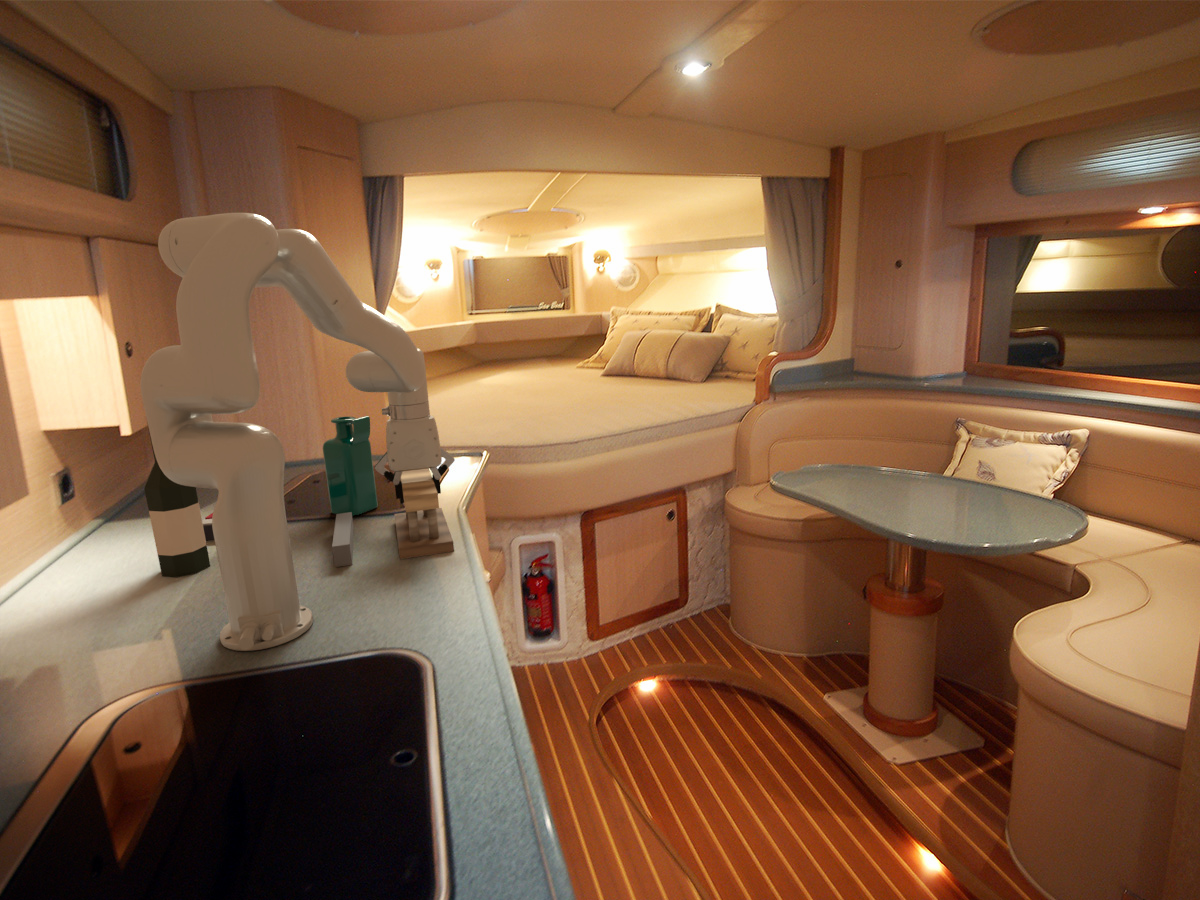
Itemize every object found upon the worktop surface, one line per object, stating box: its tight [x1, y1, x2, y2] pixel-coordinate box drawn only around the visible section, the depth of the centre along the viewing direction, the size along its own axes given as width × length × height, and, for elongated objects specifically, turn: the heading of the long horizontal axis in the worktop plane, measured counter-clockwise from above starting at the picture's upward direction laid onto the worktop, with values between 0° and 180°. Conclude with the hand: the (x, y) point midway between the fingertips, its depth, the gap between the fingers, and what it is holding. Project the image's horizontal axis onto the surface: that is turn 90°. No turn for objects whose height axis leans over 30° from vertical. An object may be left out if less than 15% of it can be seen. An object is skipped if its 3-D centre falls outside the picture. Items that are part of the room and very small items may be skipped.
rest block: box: [331, 512, 355, 568], centre depth 134 cm, size 20×3×4 cm, turn 18°
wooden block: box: [400, 468, 440, 513], centre depth 137 cm, size 22×6×3 cm, turn 18°
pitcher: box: [322, 415, 379, 517], centre depth 155 cm, size 10×8×22 cm
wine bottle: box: [144, 417, 211, 578], centre depth 124 cm, size 8×8×30 cm
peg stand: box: [393, 507, 455, 560], centre depth 138 cm, size 22×10×8 cm, turn 18°
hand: (419, 498), depth 137 cm, fingers closed on wooden block, 6 cm apart
